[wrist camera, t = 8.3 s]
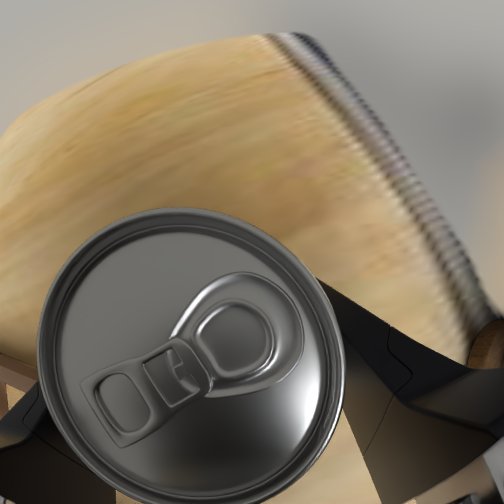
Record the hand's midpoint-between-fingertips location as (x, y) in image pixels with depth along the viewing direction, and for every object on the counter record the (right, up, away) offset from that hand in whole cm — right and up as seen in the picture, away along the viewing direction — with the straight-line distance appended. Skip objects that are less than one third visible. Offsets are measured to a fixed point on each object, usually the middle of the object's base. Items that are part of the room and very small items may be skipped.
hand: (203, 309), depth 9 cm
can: (0, -3, +7) cm, 8 cm away
